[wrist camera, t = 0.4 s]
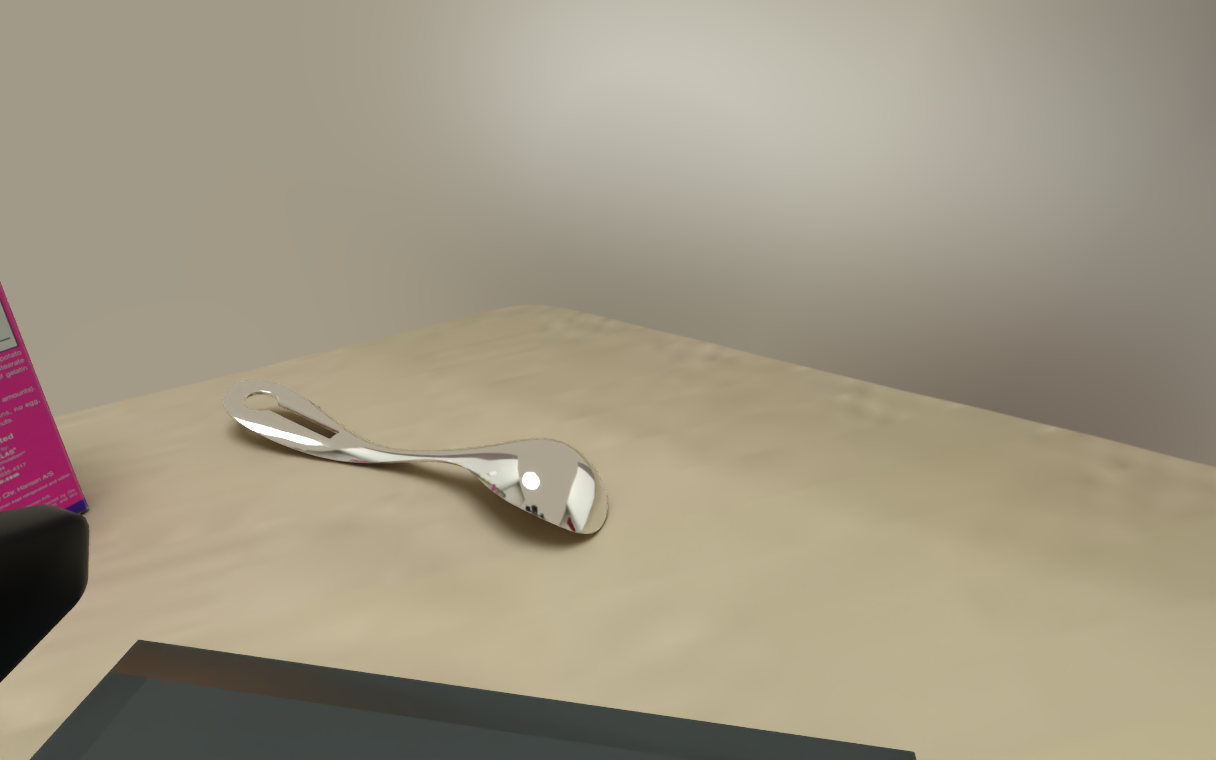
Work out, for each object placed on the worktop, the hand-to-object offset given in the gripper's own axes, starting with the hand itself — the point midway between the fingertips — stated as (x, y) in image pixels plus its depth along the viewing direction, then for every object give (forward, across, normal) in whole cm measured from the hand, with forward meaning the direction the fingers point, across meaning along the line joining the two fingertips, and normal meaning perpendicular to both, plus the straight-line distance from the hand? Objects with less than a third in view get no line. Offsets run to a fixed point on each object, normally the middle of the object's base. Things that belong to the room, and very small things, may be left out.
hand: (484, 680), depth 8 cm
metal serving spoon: (+24, +10, +12) cm, 28 cm away
